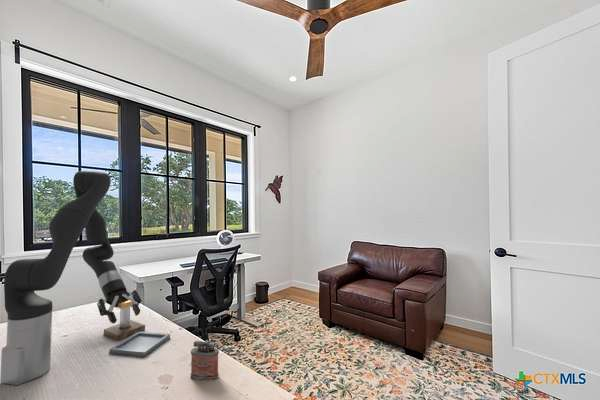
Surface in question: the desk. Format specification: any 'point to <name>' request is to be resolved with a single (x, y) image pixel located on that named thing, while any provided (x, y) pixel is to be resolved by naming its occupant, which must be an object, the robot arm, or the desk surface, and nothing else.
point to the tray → (140, 344)
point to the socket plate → (120, 334)
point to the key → (125, 314)
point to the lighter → (204, 361)
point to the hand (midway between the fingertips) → (126, 318)
